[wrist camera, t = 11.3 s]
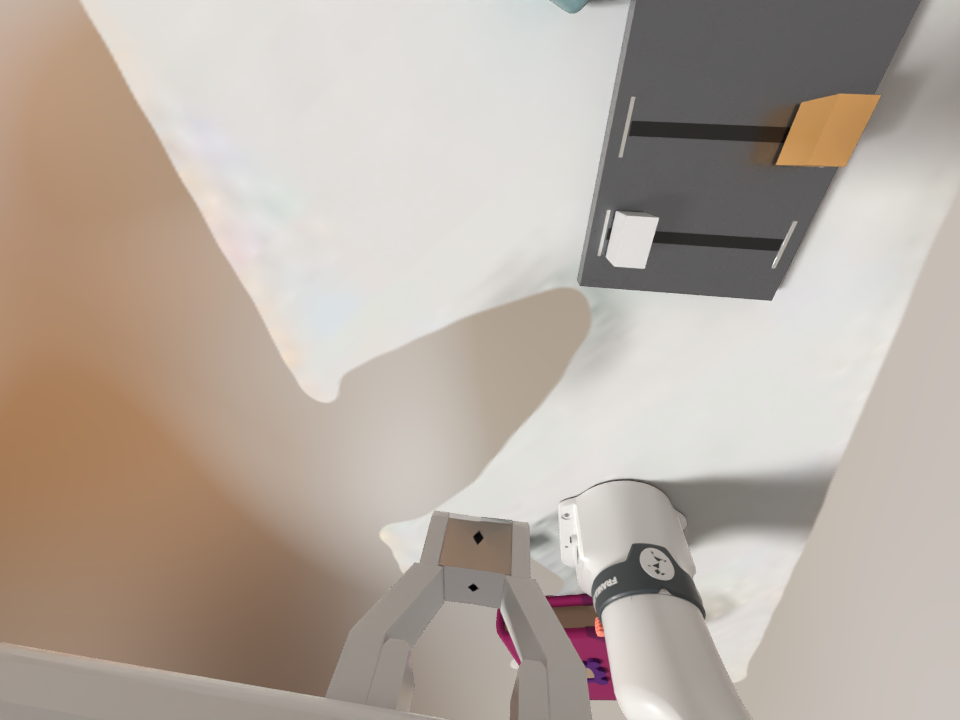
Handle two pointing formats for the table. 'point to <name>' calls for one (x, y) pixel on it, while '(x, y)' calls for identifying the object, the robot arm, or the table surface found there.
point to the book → (576, 640)
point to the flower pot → (570, 5)
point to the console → (725, 134)
